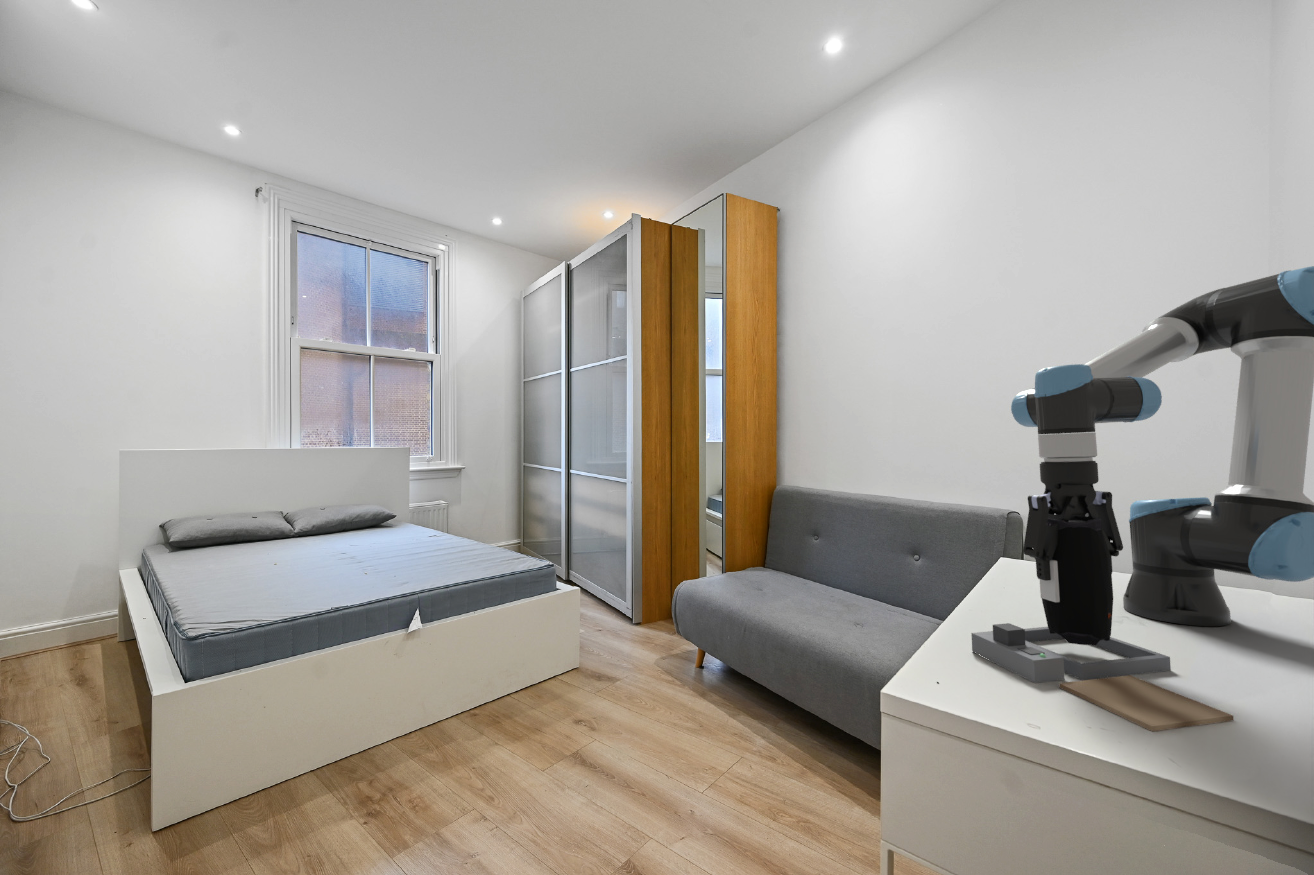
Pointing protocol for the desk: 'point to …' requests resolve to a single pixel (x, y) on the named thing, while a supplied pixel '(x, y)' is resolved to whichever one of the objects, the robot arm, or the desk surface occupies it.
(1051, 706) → the desk surface
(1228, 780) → the desk surface
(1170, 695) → the cork mat
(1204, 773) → the desk surface
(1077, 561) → the portable speaker
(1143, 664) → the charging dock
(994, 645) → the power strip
